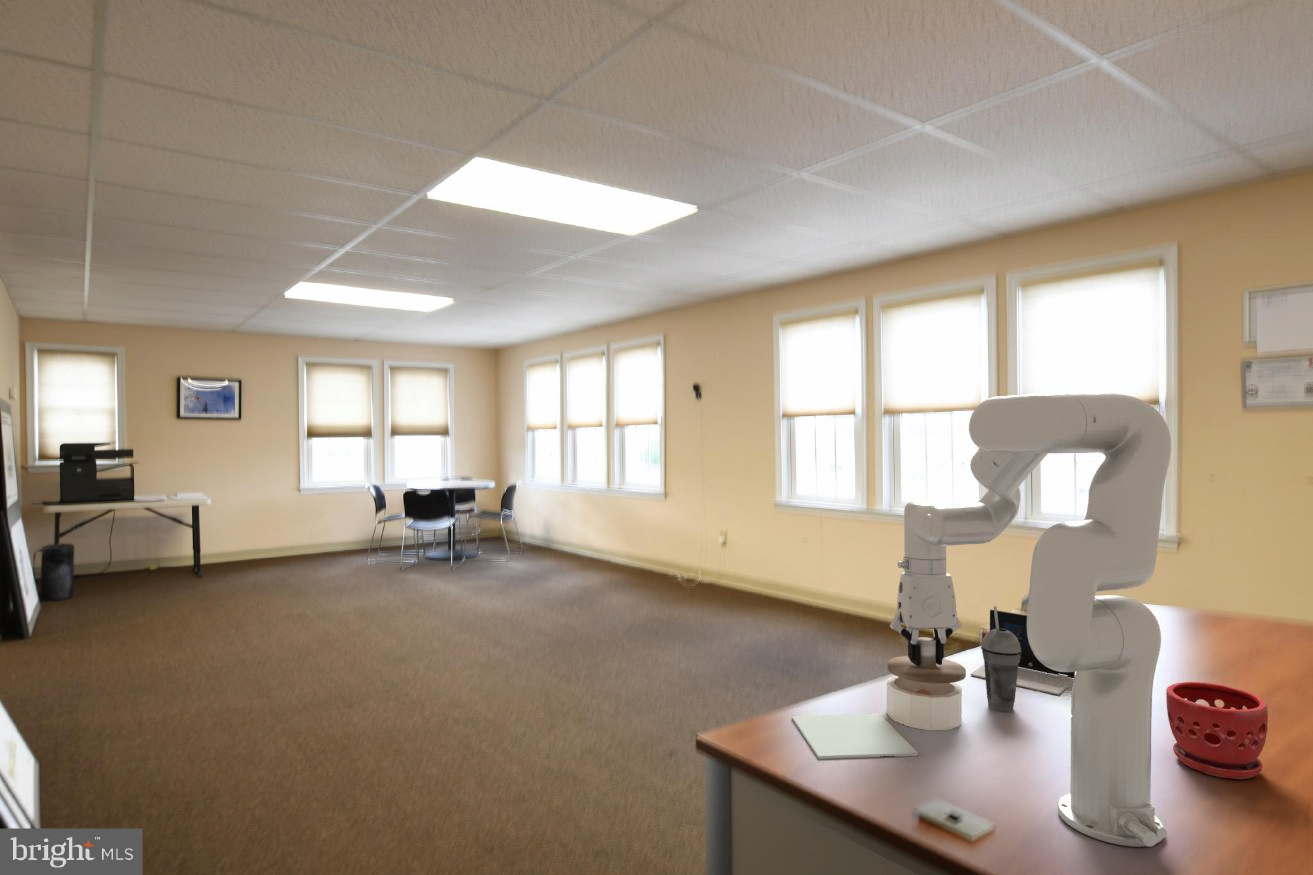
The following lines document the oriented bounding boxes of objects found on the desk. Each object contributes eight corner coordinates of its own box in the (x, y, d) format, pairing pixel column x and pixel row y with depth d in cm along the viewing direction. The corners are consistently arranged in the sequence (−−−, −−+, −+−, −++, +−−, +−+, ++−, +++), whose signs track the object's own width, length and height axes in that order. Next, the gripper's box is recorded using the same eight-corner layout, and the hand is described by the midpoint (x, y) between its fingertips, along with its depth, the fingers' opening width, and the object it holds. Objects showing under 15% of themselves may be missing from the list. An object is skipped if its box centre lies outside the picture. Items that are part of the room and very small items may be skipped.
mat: (917, 755, 124) (917, 752, 124) (818, 758, 123) (818, 755, 123) (879, 716, 141) (879, 713, 141) (792, 718, 140) (792, 716, 140)
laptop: (969, 677, 164) (970, 618, 164) (989, 664, 173) (989, 608, 173) (1058, 697, 152) (1059, 634, 152) (1075, 682, 161) (1075, 622, 161)
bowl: (974, 729, 135) (974, 696, 135) (904, 731, 134) (904, 698, 134) (941, 702, 148) (941, 672, 148) (877, 704, 147) (877, 674, 147)
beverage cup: (1026, 716, 141) (1026, 612, 141) (985, 713, 143) (986, 610, 142) (1015, 702, 148) (1016, 603, 148) (976, 699, 150) (977, 601, 149)
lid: (980, 682, 134) (980, 649, 134) (905, 684, 133) (905, 651, 133) (944, 659, 148) (944, 629, 148) (876, 661, 147) (876, 631, 147)
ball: (938, 714, 139) (938, 693, 139) (918, 715, 139) (918, 694, 139) (929, 706, 143) (929, 686, 143) (909, 707, 143) (909, 686, 143)
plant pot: (1169, 743, 129) (1170, 674, 129) (1266, 764, 121) (1267, 692, 121) (1161, 769, 119) (1162, 695, 119) (1267, 795, 111) (1268, 715, 111)
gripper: (890, 570, 136) (891, 670, 136) (977, 569, 138) (978, 667, 137) (875, 564, 144) (876, 658, 144) (957, 562, 145) (958, 656, 145)
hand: (925, 662), depth 140 cm, fingers closed on lid, 3 cm apart
